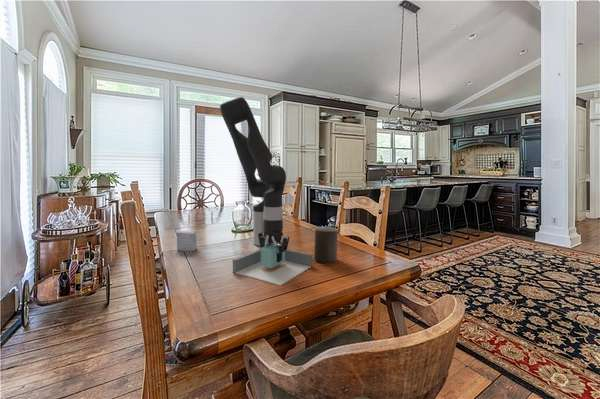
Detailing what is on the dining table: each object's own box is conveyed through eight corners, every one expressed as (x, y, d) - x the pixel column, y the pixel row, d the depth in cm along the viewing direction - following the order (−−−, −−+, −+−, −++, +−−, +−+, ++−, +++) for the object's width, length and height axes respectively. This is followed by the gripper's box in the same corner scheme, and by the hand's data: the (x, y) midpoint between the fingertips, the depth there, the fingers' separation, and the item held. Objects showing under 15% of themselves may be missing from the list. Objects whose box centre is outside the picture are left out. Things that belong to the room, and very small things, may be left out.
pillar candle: (321, 265, 114) (323, 229, 112) (310, 258, 123) (311, 224, 121) (341, 261, 119) (342, 227, 117) (328, 255, 127) (329, 222, 125)
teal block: (260, 265, 108) (260, 247, 107) (274, 259, 115) (274, 241, 114) (271, 268, 105) (271, 249, 104) (284, 261, 113) (284, 243, 112)
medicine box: (197, 248, 135) (196, 231, 134) (193, 251, 131) (192, 233, 130) (181, 248, 136) (181, 230, 135) (176, 251, 132) (176, 232, 131)
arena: (269, 256, 124) (268, 245, 124) (312, 266, 113) (312, 254, 112) (232, 272, 106) (232, 259, 105) (280, 285, 94) (280, 271, 93)
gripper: (252, 217, 109) (253, 259, 111) (282, 221, 101) (282, 266, 103) (264, 214, 115) (265, 254, 117) (294, 218, 108) (293, 261, 110)
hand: (273, 260), depth 110 cm, fingers closed on teal block, 5 cm apart
